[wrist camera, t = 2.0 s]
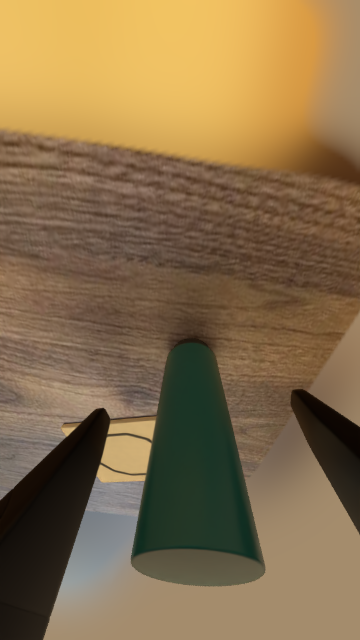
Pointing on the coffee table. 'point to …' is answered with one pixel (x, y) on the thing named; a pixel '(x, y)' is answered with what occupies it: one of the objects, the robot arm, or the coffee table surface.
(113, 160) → the coffee table surface
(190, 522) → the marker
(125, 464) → the sketch card
